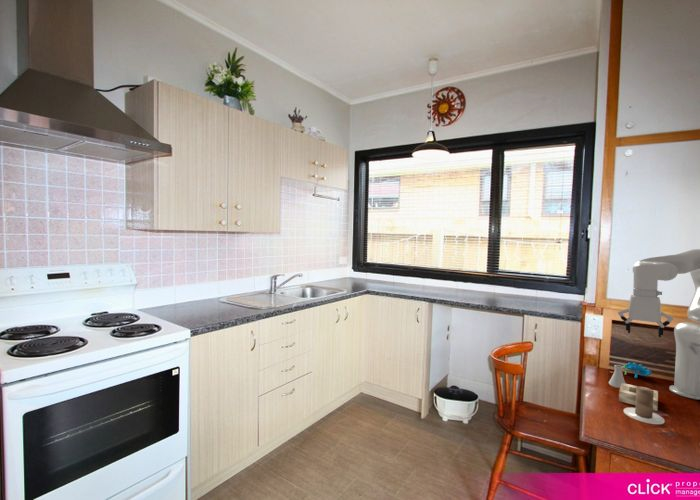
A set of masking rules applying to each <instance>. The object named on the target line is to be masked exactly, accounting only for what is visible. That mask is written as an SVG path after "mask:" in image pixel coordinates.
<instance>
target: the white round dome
mask: <svg viewBox="0 0 700 500" xmlns="http://www.w3.org/2000/svg"><path fill="white" fill-rule="evenodd" d="M635 408H636V407H625V408H623V413H624V415H626V416H628V417H629V418H631V419H633V420H636V421H638V422H642V423H646V424H651V425H663V424H664V423H665V422H666V421H665V419H664V417H662V416H660V415H659V414H658V413H655V412H653V415H652V418H651V419H648V418H643V417H640V416H638V415H636V414H635Z"/></svg>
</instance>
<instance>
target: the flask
mask: <svg viewBox="0 0 700 500" xmlns="http://www.w3.org/2000/svg"><path fill="white" fill-rule="evenodd" d="M623 366H624V365H620V364H614V371H613V374H612V376H611V378H610V379H609V381H608V384H609V385H610V386H611V387H614V388H617V389H620V387H621V383H625V384H627V382H626V381H625V378H624V375H623V374H624V373H623V369H624V368H623Z"/></svg>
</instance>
